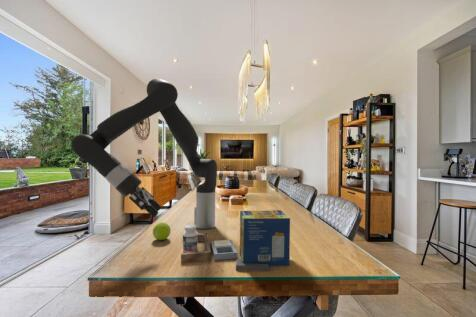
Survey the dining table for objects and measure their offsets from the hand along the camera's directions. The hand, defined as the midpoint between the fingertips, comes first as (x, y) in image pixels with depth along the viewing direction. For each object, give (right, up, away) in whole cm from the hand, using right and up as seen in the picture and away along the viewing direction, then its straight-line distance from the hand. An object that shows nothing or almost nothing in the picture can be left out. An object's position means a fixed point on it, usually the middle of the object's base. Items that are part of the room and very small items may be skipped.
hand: (158, 211), depth 83 cm
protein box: (+37, -15, -5) cm, 40 cm away
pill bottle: (+11, -15, +3) cm, 19 cm away
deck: (+23, -15, +1) cm, 28 cm away
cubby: (+13, -15, +3) cm, 20 cm away
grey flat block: (+33, -15, -10) cm, 38 cm away
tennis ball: (-3, -15, +13) cm, 20 cm away
